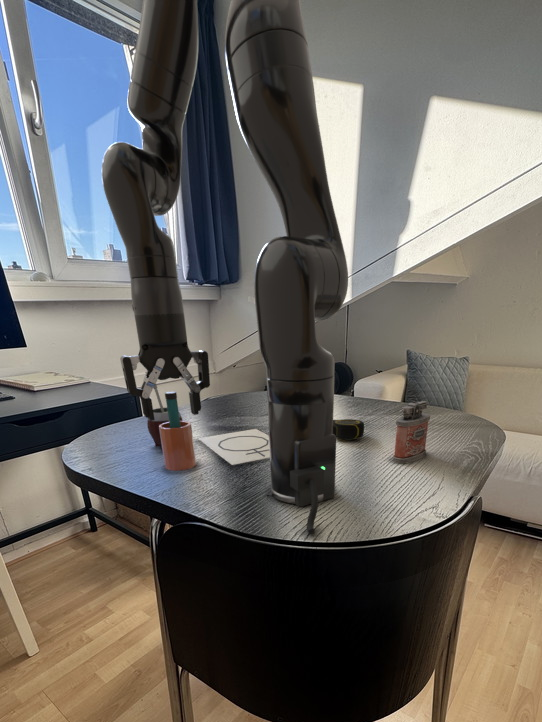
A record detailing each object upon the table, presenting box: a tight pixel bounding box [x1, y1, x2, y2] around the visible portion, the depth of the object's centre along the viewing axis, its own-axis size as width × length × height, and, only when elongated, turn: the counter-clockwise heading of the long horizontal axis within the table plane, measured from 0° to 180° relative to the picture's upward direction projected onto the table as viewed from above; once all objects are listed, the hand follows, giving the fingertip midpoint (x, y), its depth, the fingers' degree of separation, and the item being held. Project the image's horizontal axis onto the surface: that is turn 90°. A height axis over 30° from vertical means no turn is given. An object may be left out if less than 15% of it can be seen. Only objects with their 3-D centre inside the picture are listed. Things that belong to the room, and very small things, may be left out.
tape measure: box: [333, 418, 365, 441], centre depth 87 cm, size 7×7×4 cm
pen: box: [164, 391, 181, 428], centre depth 72 cm, size 2×2×13 cm
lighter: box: [392, 400, 431, 464], centre depth 74 cm, size 8×3×10 cm, turn 129°
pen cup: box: [159, 420, 197, 472], centre depth 73 cm, size 5×5×8 cm
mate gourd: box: [145, 371, 184, 452], centre depth 83 cm, size 8×8×15 cm
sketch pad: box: [197, 428, 270, 466], centre depth 85 cm, size 20×14×1 cm
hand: (173, 416), depth 71 cm, fingers open, 7 cm apart
